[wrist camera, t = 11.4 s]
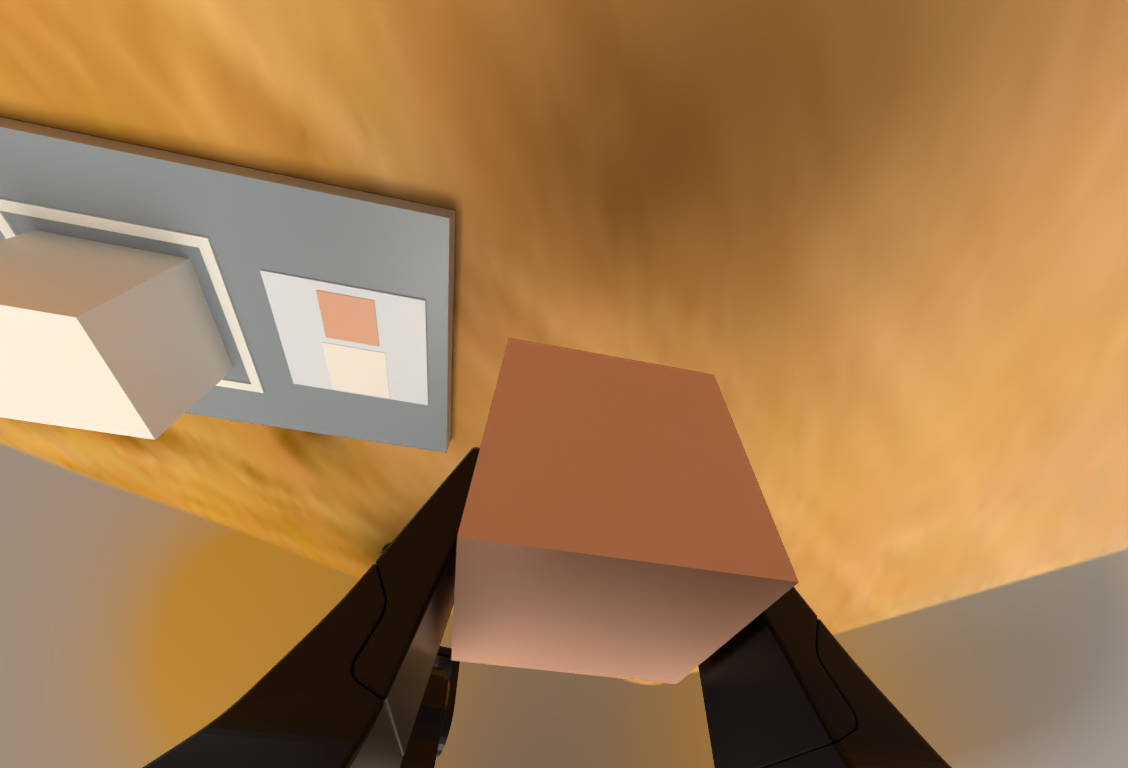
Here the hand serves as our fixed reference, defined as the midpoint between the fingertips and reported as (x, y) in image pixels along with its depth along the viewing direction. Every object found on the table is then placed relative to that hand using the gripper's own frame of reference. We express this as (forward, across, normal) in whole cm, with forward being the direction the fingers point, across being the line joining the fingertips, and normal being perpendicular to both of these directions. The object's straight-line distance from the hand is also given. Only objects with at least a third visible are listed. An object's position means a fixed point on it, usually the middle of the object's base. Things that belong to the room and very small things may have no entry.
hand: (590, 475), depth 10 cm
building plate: (+11, +16, +5) cm, 20 cm away
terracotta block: (+2, 0, 0) cm, 2 cm away
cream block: (+10, +20, +5) cm, 23 cm away
